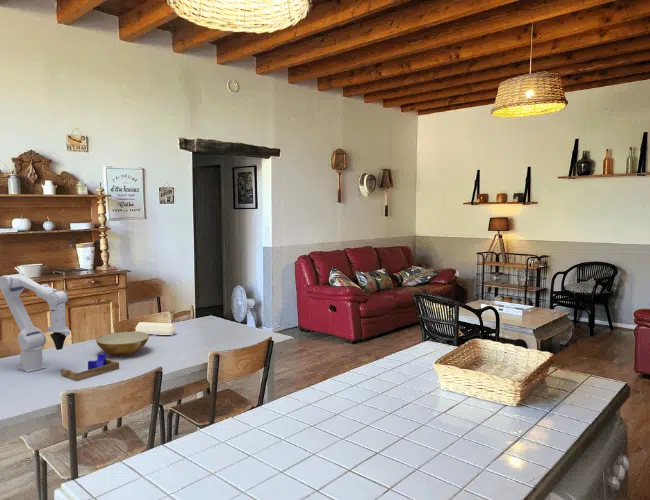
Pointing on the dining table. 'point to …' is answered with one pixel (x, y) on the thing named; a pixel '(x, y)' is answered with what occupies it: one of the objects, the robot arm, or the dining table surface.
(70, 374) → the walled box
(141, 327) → the crystal
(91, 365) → the blue cradle block
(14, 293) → the robot arm
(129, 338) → the bowl
